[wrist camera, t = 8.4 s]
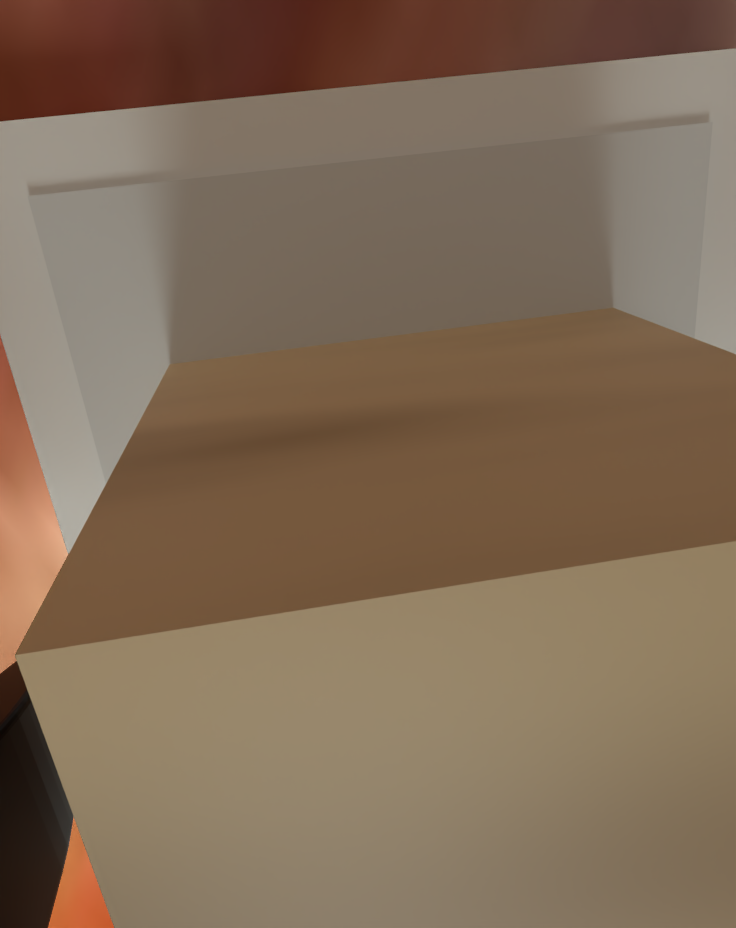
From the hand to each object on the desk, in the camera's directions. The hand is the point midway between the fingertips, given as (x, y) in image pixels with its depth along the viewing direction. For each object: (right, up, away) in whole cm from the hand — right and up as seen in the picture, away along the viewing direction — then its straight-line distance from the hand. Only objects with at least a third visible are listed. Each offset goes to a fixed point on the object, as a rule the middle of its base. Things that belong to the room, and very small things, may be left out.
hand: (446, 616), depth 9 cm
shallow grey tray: (0, +1, +3) cm, 3 cm away
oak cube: (0, +1, +2) cm, 2 cm away
